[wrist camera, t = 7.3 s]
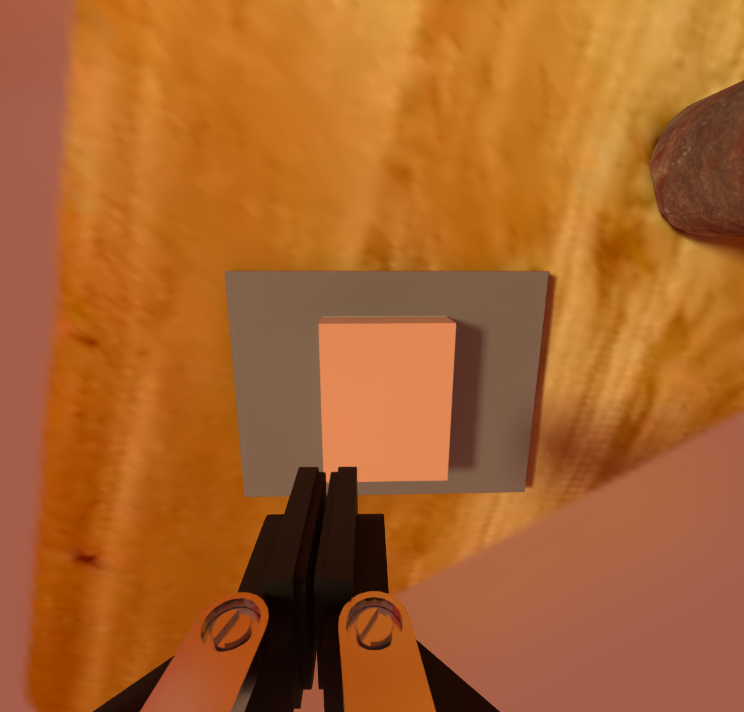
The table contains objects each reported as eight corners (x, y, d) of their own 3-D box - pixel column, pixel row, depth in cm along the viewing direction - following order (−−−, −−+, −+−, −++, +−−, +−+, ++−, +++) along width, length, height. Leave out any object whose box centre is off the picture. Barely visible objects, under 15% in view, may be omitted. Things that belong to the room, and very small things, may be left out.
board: (541, 270, 23) (549, 271, 22) (518, 483, 26) (524, 491, 25) (230, 270, 22) (224, 271, 21) (249, 487, 26) (244, 496, 25)
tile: (322, 316, 22) (445, 315, 22) (327, 459, 24) (438, 458, 24) (318, 323, 20) (456, 323, 20) (323, 482, 22) (447, 480, 22)
